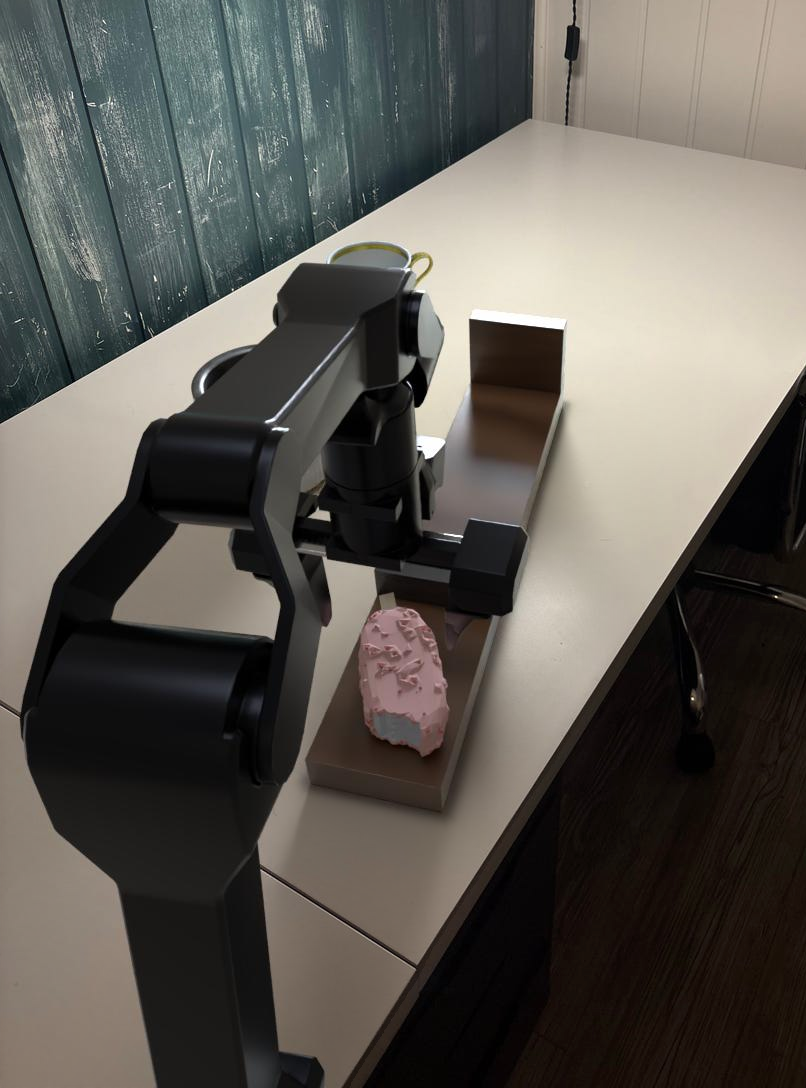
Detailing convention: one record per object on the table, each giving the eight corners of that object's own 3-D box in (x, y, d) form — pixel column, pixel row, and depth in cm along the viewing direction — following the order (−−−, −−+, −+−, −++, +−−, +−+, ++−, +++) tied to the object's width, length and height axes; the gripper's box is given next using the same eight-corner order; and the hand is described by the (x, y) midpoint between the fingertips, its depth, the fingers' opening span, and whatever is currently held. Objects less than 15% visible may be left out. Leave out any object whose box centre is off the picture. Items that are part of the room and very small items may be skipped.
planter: (185, 478, 96) (160, 388, 89) (272, 416, 104) (256, 329, 97) (276, 525, 90) (257, 433, 83) (360, 455, 98) (350, 366, 91)
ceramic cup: (349, 362, 112) (341, 287, 106) (324, 322, 119) (315, 250, 113) (450, 337, 116) (448, 263, 110) (420, 300, 123) (416, 229, 117)
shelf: (442, 812, 67) (435, 719, 60) (310, 783, 69) (288, 689, 62) (562, 405, 105) (567, 319, 98) (475, 394, 107) (473, 309, 100)
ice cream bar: (424, 571, 76) (458, 722, 64) (426, 608, 78) (458, 760, 67) (346, 582, 75) (366, 737, 63) (350, 619, 77) (370, 775, 66)
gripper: (548, 403, 61) (541, 574, 71) (278, 368, 65) (307, 535, 74) (512, 517, 52) (509, 693, 62) (203, 469, 56) (247, 643, 66)
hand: (389, 633), depth 66 cm, fingers open, 9 cm apart
